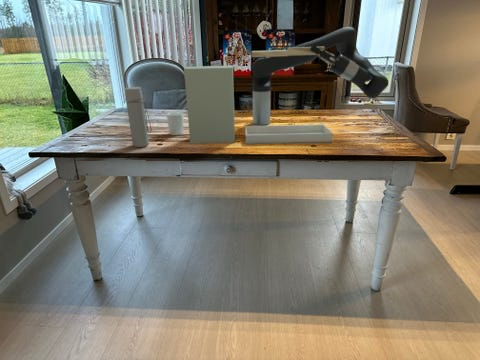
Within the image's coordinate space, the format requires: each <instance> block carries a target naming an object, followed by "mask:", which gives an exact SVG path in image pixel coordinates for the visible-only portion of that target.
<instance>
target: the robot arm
mask: <svg viewBox="0 0 480 360" xmlns="http://www.w3.org/2000/svg"><path fill="white" fill-rule="evenodd" d="M356 44H357V32H356V29H355V28H354V27H352V26H345V27H341V28H339V29H337V30H335V31H332V32H330V33H328V34H326V35H325V34H324V35H322V36H321V37H318V38H316V39H313V40H310V41H307V42H303V43H300V44H298V45H295V46H293V47H291V48H294V47H311V49H310V50H311V51H313V52H314V53H316V54H318V55H296V56H274V57H257V59H256V60H255V61H254V62H253V64H252V66H251V70H252V124H253V125H255V126H267V125H269V123H271V86H272V84H271V83H272V82H271V79H272V74H274V73H277V72H279V71H282V70H285V69H289V68H290V69H291V68H294V67H297V66H301V65H304V64H308V63H311V62H312V61H314V60H315V59H316V58H318V57H319V59H320V60H322V61H323V62H325V63H326V64H328V65H331V66H330V71H331V72H332V73H334V74H336V75H337V76H339V77H340V78H342V79H345V80H347V81H348V82H351V83H352V84H354V85H355V86H357V87H358V88H359V90H360V91H361V92H363V94H364V96H366V97H367V98H368V99H371V100H373V99H376V98H378V97H379V96H380V95H381V94H382V93H383V92H384V91H385V90H386V89H387V87H388V86H389V80H388V77H386V76H385V75H383V74H382V73H381V72H379V71H377V69H376V68H374V66H373V63H371V61H370V60H369V59H368V58H367V57H366V56H363V55H361V54H360V52H359V51H358V48H357V45H356ZM333 46H336V49H337V51H338V53H339V54H338V56H336V55H335V54H333V53H331V52H329V51H327V50H328V49H329V48H331V47H333ZM317 47H325V50H321V49H319V48H317ZM367 82H368V83H367ZM266 124H267V125H266Z"/></svg>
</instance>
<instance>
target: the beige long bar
mask: <svg viewBox="0 0 480 360" xmlns="http://www.w3.org/2000/svg"><path fill="white" fill-rule="evenodd" d="M293 47H294V48H292V47H287V49H282V50H281V49H278V50H277V49H276V50H272V49H271V50H252V51H251V58H268V57H274V56H296V55H318V54H316V53H314V52H313V51H311V50H310V49H311V47H295V46H293ZM317 48H319V49H321V50H324V51H326V50H325V47H317Z"/></svg>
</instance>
